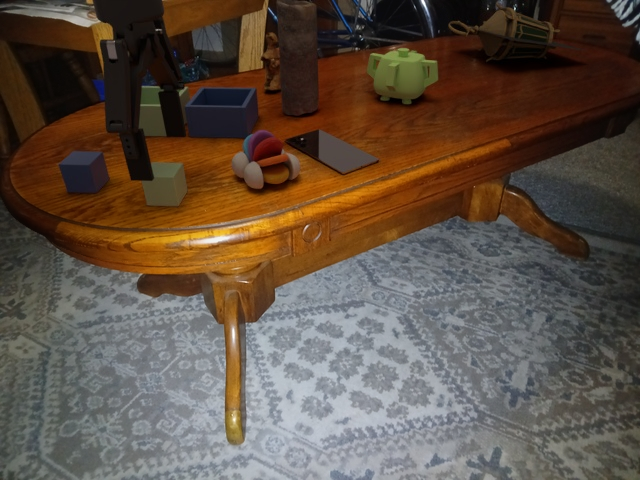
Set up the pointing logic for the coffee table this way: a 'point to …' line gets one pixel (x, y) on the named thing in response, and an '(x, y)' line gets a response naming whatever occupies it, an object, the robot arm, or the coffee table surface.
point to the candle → (298, 56)
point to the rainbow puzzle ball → (264, 161)
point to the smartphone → (331, 151)
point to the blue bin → (222, 112)
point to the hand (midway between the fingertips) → (161, 156)
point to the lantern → (513, 35)
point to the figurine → (271, 64)
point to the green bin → (156, 110)
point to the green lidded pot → (401, 74)
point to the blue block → (84, 171)
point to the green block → (165, 185)
